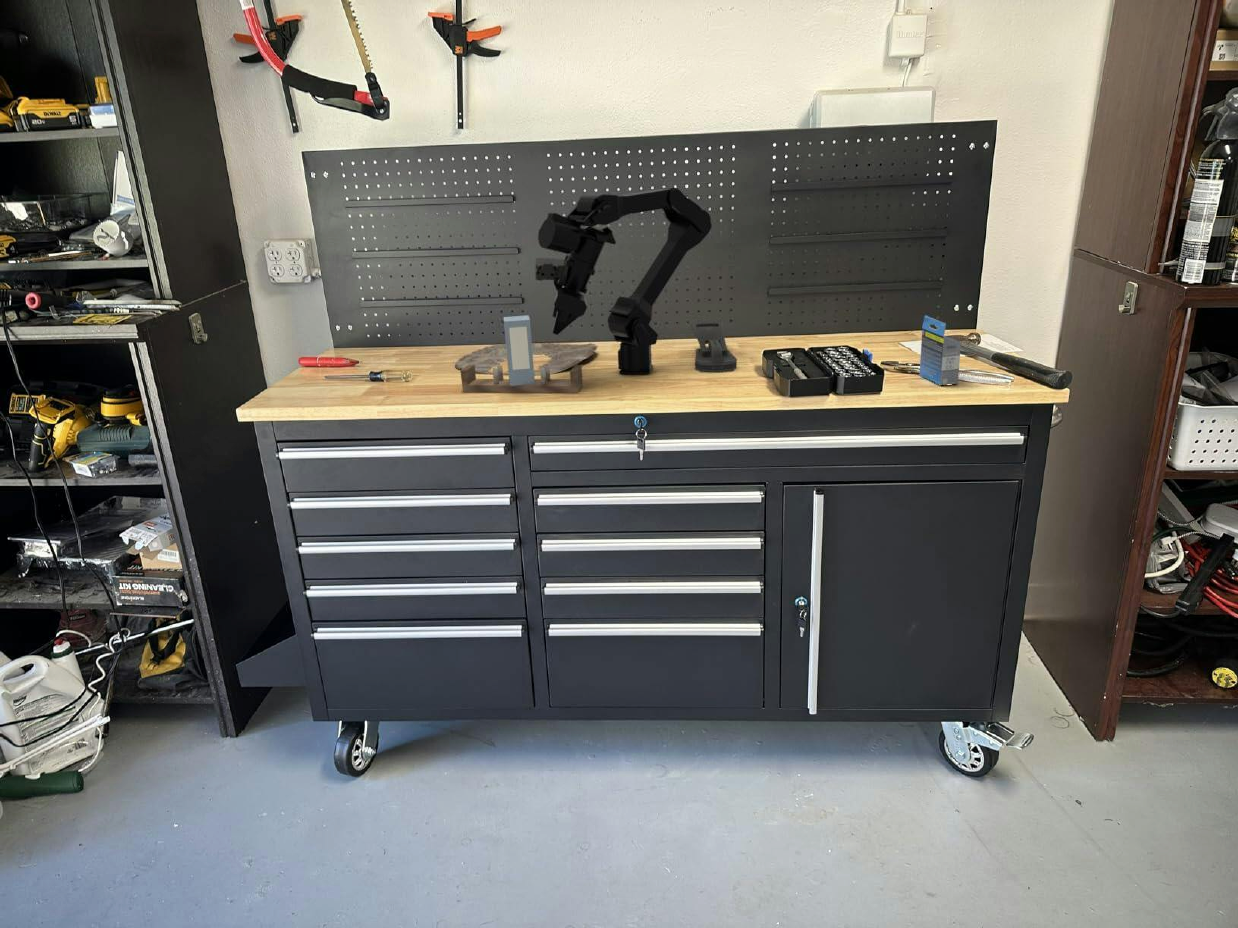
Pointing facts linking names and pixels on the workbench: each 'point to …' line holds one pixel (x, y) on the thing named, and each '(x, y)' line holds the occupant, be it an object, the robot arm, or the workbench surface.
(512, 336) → the frame block
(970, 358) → the workbench surface
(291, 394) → the workbench surface
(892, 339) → the workbench surface
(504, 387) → the rail
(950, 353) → the label tape box
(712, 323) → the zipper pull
